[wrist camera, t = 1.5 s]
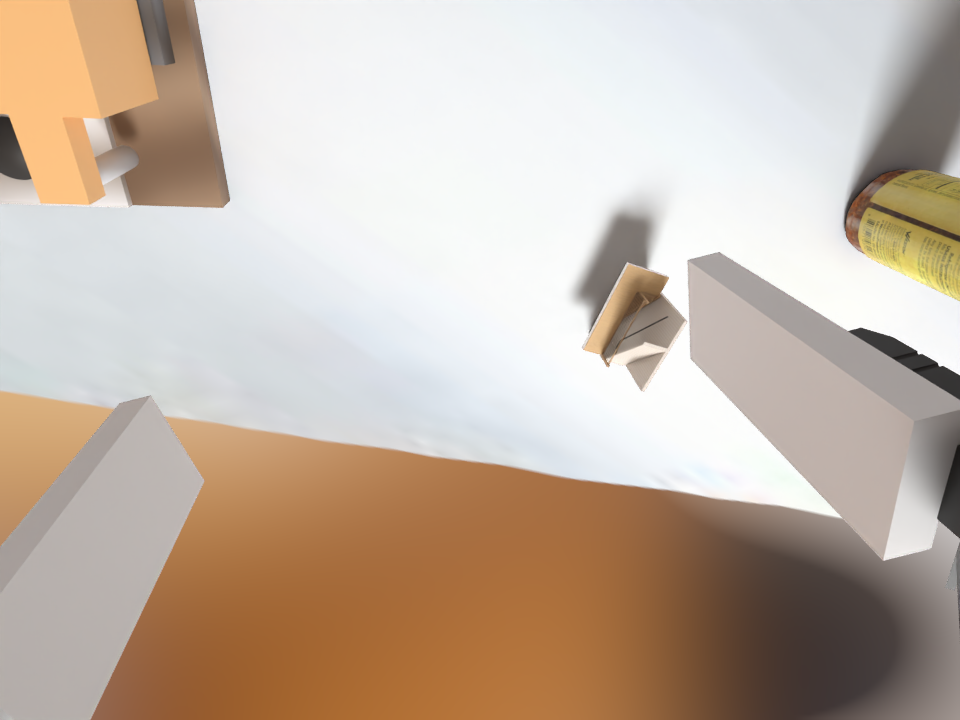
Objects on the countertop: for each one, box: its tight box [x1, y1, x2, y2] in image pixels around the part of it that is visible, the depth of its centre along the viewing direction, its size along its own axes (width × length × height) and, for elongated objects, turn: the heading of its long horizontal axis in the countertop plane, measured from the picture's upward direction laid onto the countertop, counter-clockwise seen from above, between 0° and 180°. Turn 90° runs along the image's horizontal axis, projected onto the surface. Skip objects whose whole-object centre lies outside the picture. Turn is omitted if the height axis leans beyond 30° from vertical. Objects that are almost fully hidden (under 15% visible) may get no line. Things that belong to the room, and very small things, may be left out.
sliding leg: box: [0, 0, 159, 205], centre depth 24 cm, size 10×5×6 cm, turn 176°
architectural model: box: [582, 262, 687, 392], centre depth 37 cm, size 3×7×7 cm, turn 160°
